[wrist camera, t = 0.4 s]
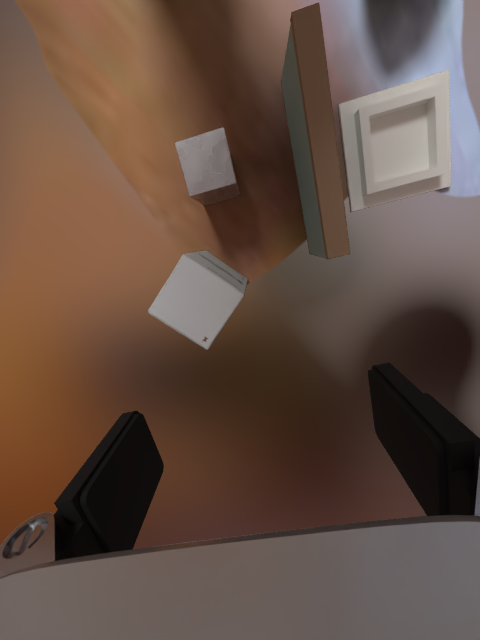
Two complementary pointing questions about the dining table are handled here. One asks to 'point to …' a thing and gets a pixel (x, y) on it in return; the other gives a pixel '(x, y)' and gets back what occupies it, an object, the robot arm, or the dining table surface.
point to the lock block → (208, 167)
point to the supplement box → (199, 297)
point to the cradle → (397, 142)
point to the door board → (314, 135)
